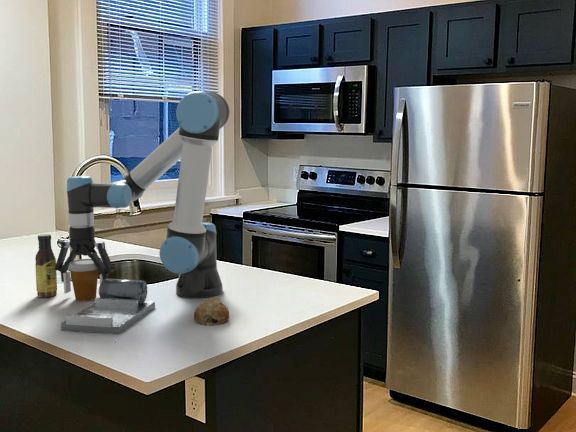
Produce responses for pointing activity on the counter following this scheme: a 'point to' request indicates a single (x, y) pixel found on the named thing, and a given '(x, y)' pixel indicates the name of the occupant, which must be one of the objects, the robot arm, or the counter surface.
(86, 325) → the block
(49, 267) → the sauce bottle
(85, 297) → the disposable coffee cup
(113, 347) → the counter surface
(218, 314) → the bread roll
